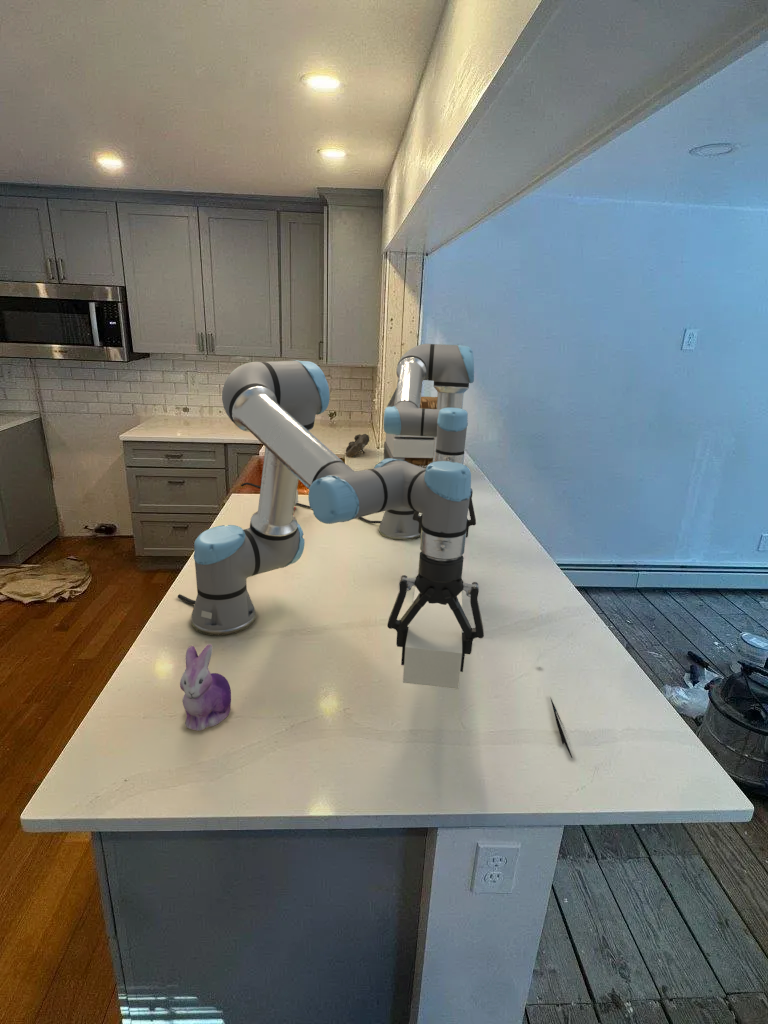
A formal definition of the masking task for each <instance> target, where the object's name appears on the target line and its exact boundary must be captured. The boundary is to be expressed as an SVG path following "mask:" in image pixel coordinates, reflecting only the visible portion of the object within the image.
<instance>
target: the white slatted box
mask: <svg viewBox="0 0 768 1024" xmlns="http://www.w3.org/2000/svg"><path fill="white" fill-rule="evenodd" d="M396 389H397V387H396V388H395V390H394V392H393V394H392V395H391V398H390V400H389V402H388V404H387V405H386V408H387V407H393V406H394V401H395V395H396ZM420 408H421V409H437V396H421V400H420ZM433 450H434V437H427V436H411V435H395V434H387V433H385V438H384V442H383V459H387V458H393V459H397V460H399V459H400V460H404V461H407V462H408V463H411V464H414V465H417V466H419V467H427V466H428V465H429V464H430V463H432V462H433Z"/></svg>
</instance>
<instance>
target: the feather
mask: <svg viewBox="0 0 768 1024" xmlns="http://www.w3.org/2000/svg"><path fill="white" fill-rule="evenodd" d="M539 669H541V666H540V667H539ZM549 697H550V702H551V706H552V710H553V714H554V718H555V722H556V726H557V729H558V732H559V737H560V740H561V744H562V745H564V746H565V748H566V750H567V751H568V753H569V755H570V757H571V758H573V756H572V753H571V750H570V748H569V745H570V747H572V744H571V740H569V741H568V742H567V740H566V739H567V738H569V735H567V732H566V727H564V723H563V721H562V720H561V717H560V715H559V713H558V710H557V708H556V706H555V704H554V702H553V699H552V697H551V696H549ZM566 735H567V738H566ZM568 743H569V744H568Z"/></svg>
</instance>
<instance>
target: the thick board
mask: <svg viewBox="0 0 768 1024" xmlns="http://www.w3.org/2000/svg"><path fill="white" fill-rule="evenodd" d="M418 569H419V567H418ZM418 569H417V570H418ZM417 575H418V573H417V574H416V576H417ZM419 593H420V592H419V591H418V589H417V588H416V586H415V585H414V592H413V599H412V603H413V602H414V601H415V599H416V598H417V596H418V594H419ZM457 598H458V601H459V603H460V605H461V607H462V608H463V590H462V591H461V592H460V593H459V594H458V595H457ZM407 627H408V633H407V639H406V645H405V658H404V665H403V675H402V683H403V684H410V685H420V686H427V687H428V686H429V687H436V688H437V687H438V688H444V689H445V688H446V689H452V690H453V689H454V690H459V688H460V679H461V678H460V677H461V672H460V669H461V659H462V632H463V631H462V629H461V627H460V625H459V623H458V621H457V619H456V617H455V615H454V613H453V611H452V610H451V609H450V607H449V605H448V604H446V605H442V604H439V603H433V604H432V603H429V602H428V601H427V602H426V604H425V605H424V606H423V607H422V608H421V609H420V610H419V612H418V613H417V614H416V616H415V617H414V618H413V620H412V621H411V622H410V624H409V625H408V626H407Z"/></svg>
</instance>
